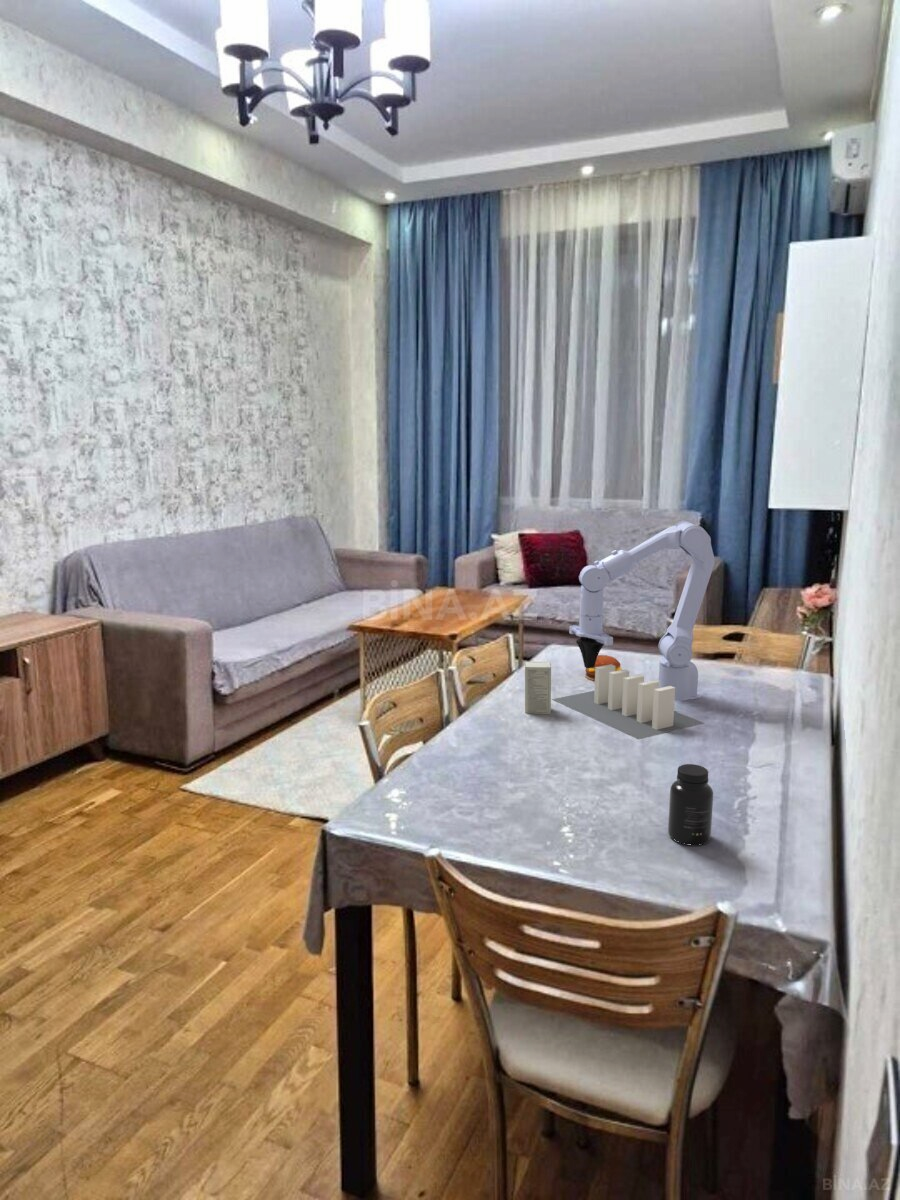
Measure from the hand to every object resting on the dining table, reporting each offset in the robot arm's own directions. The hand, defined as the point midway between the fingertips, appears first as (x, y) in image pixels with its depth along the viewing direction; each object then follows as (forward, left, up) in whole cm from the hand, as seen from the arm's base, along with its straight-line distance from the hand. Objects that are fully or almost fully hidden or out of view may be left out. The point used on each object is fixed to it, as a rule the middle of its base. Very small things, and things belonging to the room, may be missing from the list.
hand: (589, 667), depth 205 cm
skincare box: (+18, +3, -8) cm, 20 cm away
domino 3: (0, +16, -7) cm, 18 cm away
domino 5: (0, +26, -7) cm, 27 cm away
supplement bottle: (+32, +65, -8) cm, 73 cm away
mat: (0, +14, -8) cm, 16 cm away
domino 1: (0, +6, -7) cm, 9 cm away
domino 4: (0, +21, -7) cm, 22 cm away
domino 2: (0, +11, -7) cm, 13 cm away
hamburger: (-13, -10, -8) cm, 18 cm away
